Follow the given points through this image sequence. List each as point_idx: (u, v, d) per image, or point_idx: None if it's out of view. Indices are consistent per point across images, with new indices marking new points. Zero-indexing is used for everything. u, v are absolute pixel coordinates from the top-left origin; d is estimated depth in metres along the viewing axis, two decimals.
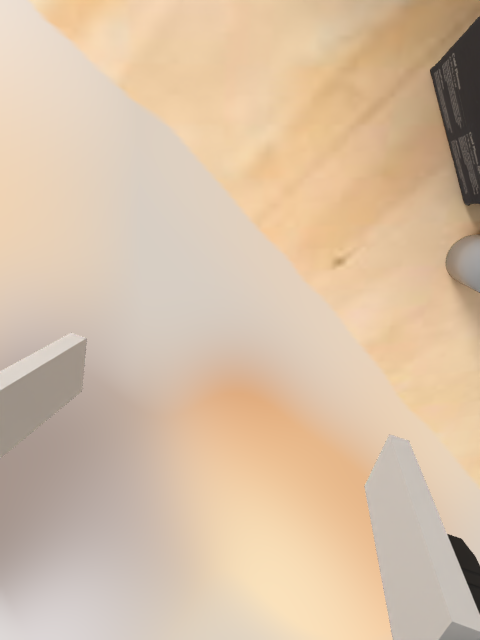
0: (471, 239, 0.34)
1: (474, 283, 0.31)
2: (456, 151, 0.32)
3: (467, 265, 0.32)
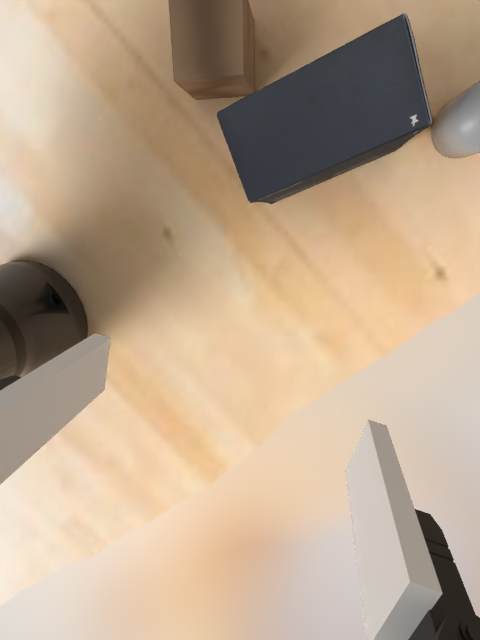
0: (439, 140, 0.31)
1: None
2: (343, 172, 0.33)
3: (478, 150, 0.28)
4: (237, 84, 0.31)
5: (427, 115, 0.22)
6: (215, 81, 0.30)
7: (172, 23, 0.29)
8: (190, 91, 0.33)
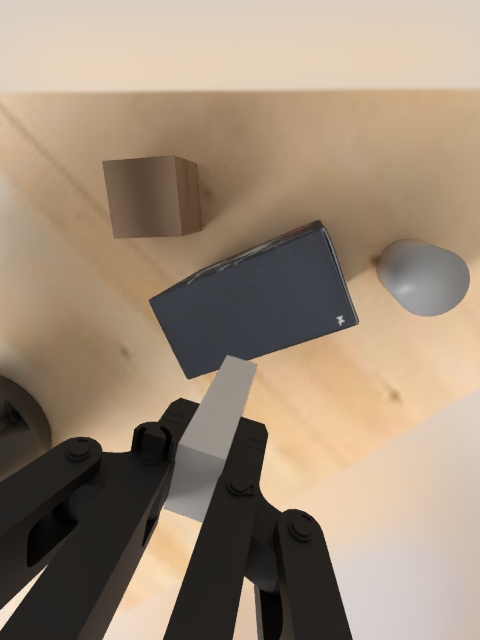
0: (383, 284, 0.31)
1: (442, 312, 0.26)
2: None
3: None
4: None
5: (353, 316, 0.22)
6: None
7: (108, 187, 0.28)
8: None
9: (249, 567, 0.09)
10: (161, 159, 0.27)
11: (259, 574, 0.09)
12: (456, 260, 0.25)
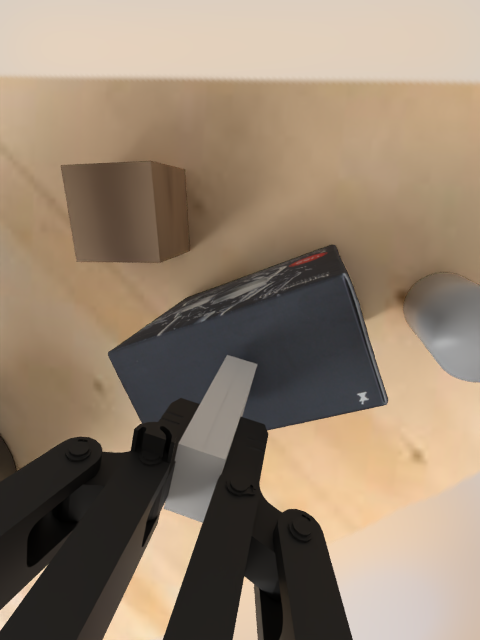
0: (412, 328, 0.25)
1: None
2: None
3: None
4: None
5: (380, 394, 0.16)
6: None
7: (68, 198, 0.22)
8: None
9: (249, 567, 0.09)
10: (134, 165, 0.21)
11: (259, 574, 0.09)
12: None
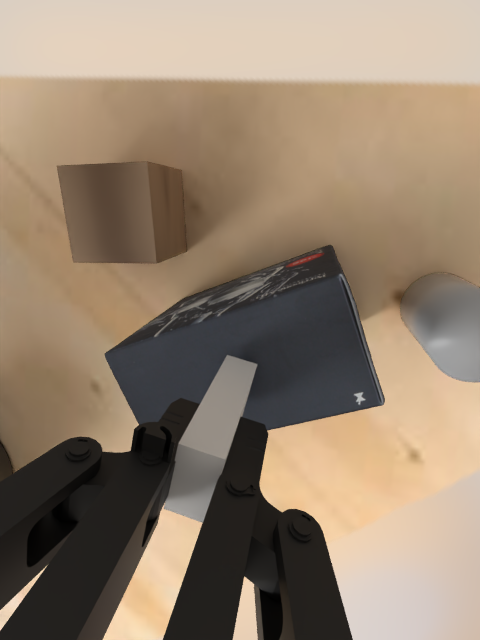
0: (408, 328, 0.25)
1: None
2: None
3: None
4: None
5: (377, 394, 0.16)
6: None
7: (65, 199, 0.22)
8: None
9: (249, 567, 0.09)
10: (131, 166, 0.21)
11: (259, 574, 0.09)
12: None
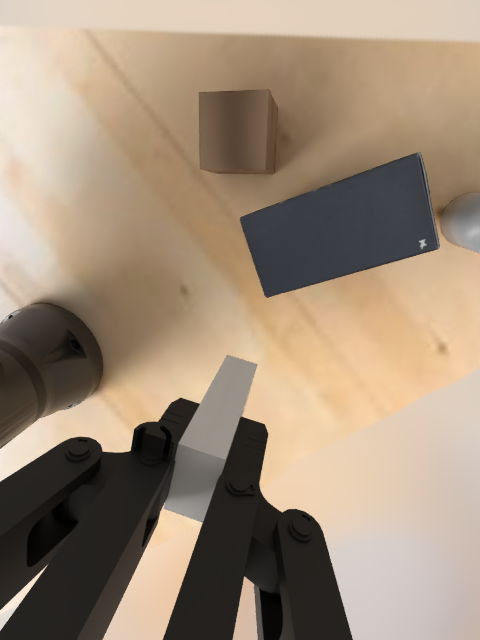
0: (447, 233, 0.33)
1: None
2: None
3: None
4: (258, 171, 0.33)
5: (435, 241, 0.24)
6: (238, 169, 0.32)
7: (201, 118, 0.31)
8: (214, 171, 0.35)
9: (249, 567, 0.09)
10: (256, 92, 0.29)
11: (259, 574, 0.09)
12: None
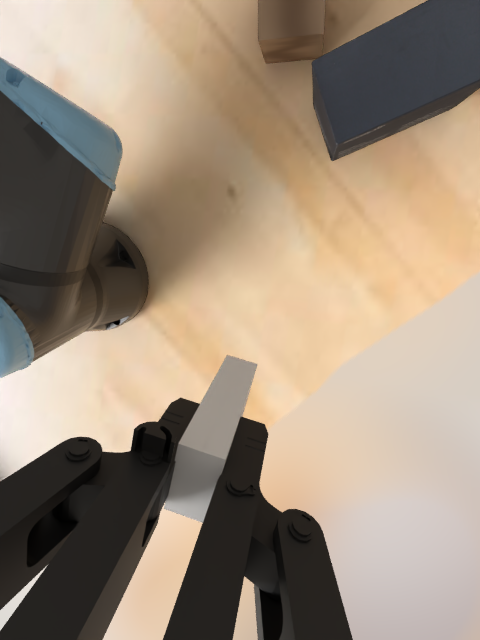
0: None
1: None
2: (404, 128, 0.37)
3: None
4: (312, 45, 0.34)
5: None
6: (294, 41, 0.33)
7: None
8: (266, 53, 0.36)
9: (249, 567, 0.09)
10: None
11: (259, 574, 0.09)
12: None
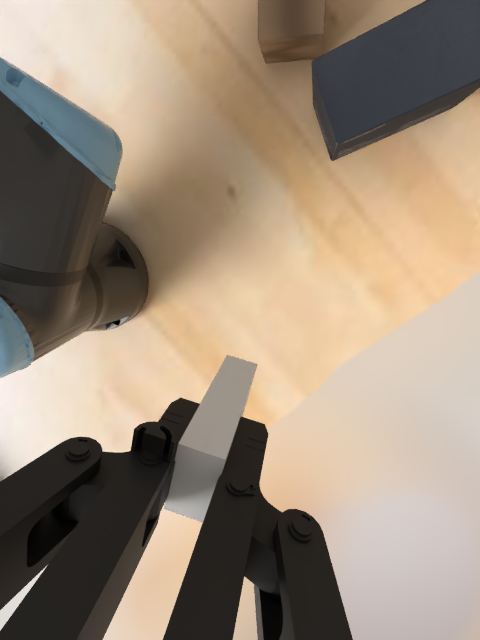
0: None
1: None
2: (404, 128, 0.37)
3: None
4: (312, 44, 0.34)
5: None
6: (294, 41, 0.33)
7: None
8: (266, 52, 0.36)
9: (249, 567, 0.09)
10: None
11: (259, 574, 0.09)
12: None
